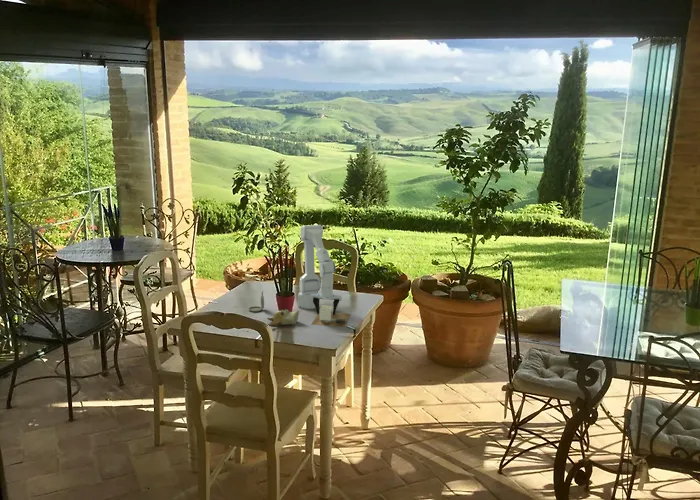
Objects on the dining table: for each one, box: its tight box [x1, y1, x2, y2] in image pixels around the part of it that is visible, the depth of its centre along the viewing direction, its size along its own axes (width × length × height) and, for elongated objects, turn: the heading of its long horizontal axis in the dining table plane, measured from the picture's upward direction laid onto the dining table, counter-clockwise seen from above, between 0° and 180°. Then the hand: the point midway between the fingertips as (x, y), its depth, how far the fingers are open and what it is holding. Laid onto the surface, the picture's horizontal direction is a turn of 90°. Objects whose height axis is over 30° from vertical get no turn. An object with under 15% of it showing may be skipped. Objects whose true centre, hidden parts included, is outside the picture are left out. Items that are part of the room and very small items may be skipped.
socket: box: [319, 304, 333, 321], centre depth 274 cm, size 5×5×6 cm
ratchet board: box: [311, 310, 351, 328], centre depth 278 cm, size 16×19×6 cm
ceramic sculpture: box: [266, 307, 300, 328], centre depth 271 cm, size 11×9×15 cm
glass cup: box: [248, 290, 265, 313], centre depth 291 cm, size 8×8×10 cm
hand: (326, 313), depth 274 cm, fingers open, 7 cm apart
